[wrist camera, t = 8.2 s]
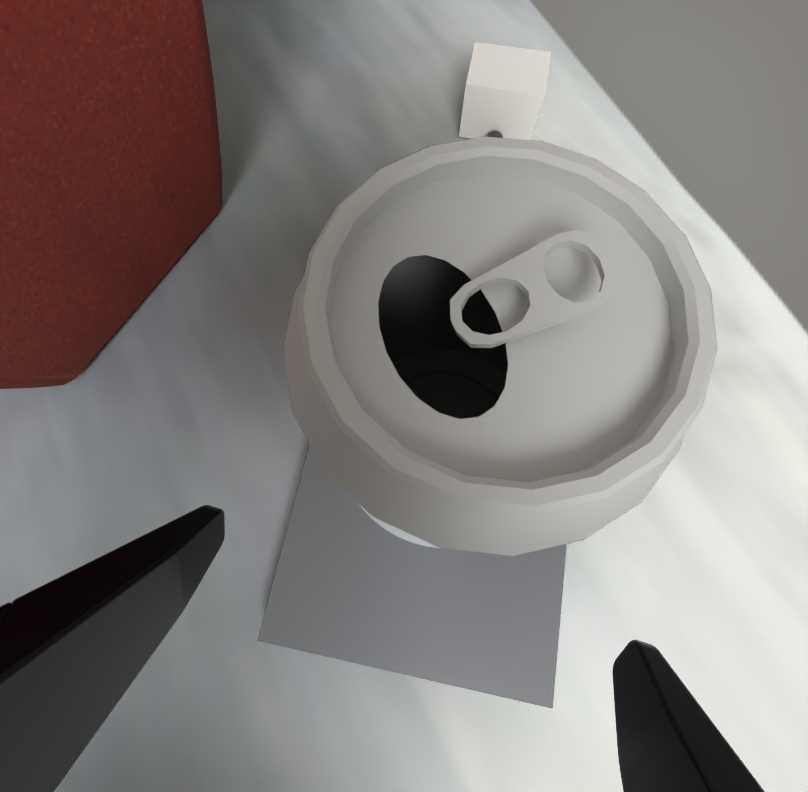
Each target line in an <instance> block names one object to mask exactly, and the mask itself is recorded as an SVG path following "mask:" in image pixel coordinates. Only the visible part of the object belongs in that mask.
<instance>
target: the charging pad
mask: <svg viewBox="0 0 808 792" xmlns="http://www.w3.org/2000/svg"><path fill="white" fill-rule="evenodd" d="M551 53H552V52H547V51H539V50H532V49H524V48H517V47H509V46H502V45H494V44H487V43H480V42H475V43H474V48H473V53H472V57H471V62H470V67H469V72H468V76H467V81H466V87H465V94H464V102H463V109H462V117H461V124H460V131H459V137H465V138H472V139H474V138H480V137H496V138H509V139H522V140H531V139H532V136H533V132H534V129H535V126H536V123H537V120H538V117H539V114H540V111H541V108H542V105H543V102H544V99H545V96H546V89H547V82H548V75H549V67H550V60H551ZM565 555H566V544H563V545H559V546H555V547H550V548H546V549H541V550H537V551H533V552H528V553H524V554H519V555H515V556H508V555H499V554H490V553H482V552H473V551H464V550H455V549H446V548H439V547H436V546H434V545H432V544H430V543H428V542H426V541H424V540H422V539H419V538H417V537H415V536H413V535H411V534H409V533H407V532H405V531H402V530H400V529H398V528H396V527H394V526H392V525H390V524H388V523H385V522H383V521H381V520H379V519H377V518H375V517H373V516H372V515H370V514H369V513H368V512H367V511H366V510H365V509H364V508H363V507H362V506H361V505H360V504H359V503H358V502H357V501H356V500H355V499H354V498H353V497H352V496H351V495H350V494H349V493H348V492H346V491H345V490H344V489H343V488H342V487H341V486H340V485H339V484H338V483H337V482H336V481H335V480H334V479H333V478H332V477H331V476H330V475H329V474H328V473H327V472H326V471H325V470H324V469H322V467H321V465H320V463H319V461H318V459H317V457H316V456H315V454H314V452H313V450H312V448H311V446H310V444H309V448H308V452H307V456H306V459H305V463H304V467H303V471H302V474H301V478H300V482H299V486H298V490H297V493H296V497H295V501H294V505H293V509H292V512H291V516H290V520H289V524H288V527H287V531H286V535H285V539H284V543H283V546H282V550H281V554H280V558H279V562H278V565H277V569H276V573H275V577H274V580H273V584H272V588H271V592H270V596H269V599H268V603H267V607H266V611H265V615H264V618H263V622H262V626H261V630H260V633H259V637H258V641H262V642H267V643H271V644H275V645H280V646H284V647H288V648H293V649H297V650H301V651H306V652H310V653H314V654H319V655H323V656H327V657H332V658H336V659H340V660H345V661H349V662H353V663H358V664H362V665H366V666H371V667H375V668H379V669H384V670H388V671H392V672H397V673H401V674H405V675H410V676H414V677H418V678H423V679H427V680H431V681H436V682H440V683H444V684H449V685H453V686H457V687H462V688H466V689H470V690H475V691H479V692H483V693H488V694H492V695H496V696H501V697H505V698H509V699H514V700H518V701H522V702H527V703H531V704H535V705H540V706H544V707H548V708H553V697H554V685H555V674H556V662H557V650H558V638H559V626H560V614H561V602H562V591H563V579H564V567H565Z"/></svg>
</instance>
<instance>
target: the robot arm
mask: <svg viewBox="0 0 808 792" xmlns="http://www.w3.org/2000/svg"><path fill="white" fill-rule="evenodd" d="M224 535H225V526H224V512H223V510H222V509H219V508H216V507H213V506H210V505H205V506H202V507H199V508H197V509H195V510H193V511H191V512H189V513H187V514H185V515H183V516H181V517H179V518H177V519H175V520H173V521H171V522H169V523H167V524H165V525H163V526H161V527H159V528H157V529H155V530H153V531H151V532H149V533H147V534H145V535H143V536H141V537H139V538H137V539H135V540H133V541H131V542H129V543H127V544H125V545H123V546H121V547H119V548H117V549H115V550H113V551H111V552H109V553H107V554H105V555H103V556H101V557H99V558H97V559H95V560H93V561H91V562H89V563H87V564H85V565H83V566H81V567H79V568H77V569H75V570H73V571H71V572H69V573H67V574H65V575H63V576H61V577H59V578H57V579H55V580H53V581H51V582H49V583H47V584H45V585H43V586H41V587H39V588H37V589H35V590H33V591H31V592H29V593H27V594H25V595H23V596H21V597H19V598H17V599H15V600H14V601H13V603H7V604H5V605H3V606H1V607H0V792H54V790H55V789H56V788H57V786H58V785H59V783H60V782H61V781H62V779H63V778H64V777H65V775H66V774H67V772H68V771H69V770H70V768H71V767H72V765H73V764H74V763H75V761H76V760H77V758H78V757H79V756H80V754H81V753H82V751H83V750H84V749H85V747H86V746H87V744H88V743H89V742H90V740H91V739H92V738H93V736H94V735H95V733H96V732H97V731H98V729H99V728H100V726H101V725H102V724H103V722H104V721H105V719H106V718H107V717H108V715H109V714H110V712H111V711H112V710H113V708H114V707H115V705H116V704H117V703H118V701H119V700H120V699H121V697H122V696H123V694H124V693H125V692H126V690H127V689H128V687H129V686H130V685H131V683H132V682H133V680H134V679H135V678H136V676H137V675H138V673H139V672H140V671H141V669H142V668H143V666H144V665H145V664H146V662H147V661H148V660H149V658H150V657H151V655H152V654H153V653H154V651H155V650H156V648H157V647H158V646H159V644H160V643H161V641H162V640H163V639H164V637H165V636H166V634H167V633H168V632H169V630H170V629H171V627H172V626H173V625H174V623H175V622H176V620H177V619H178V618H179V616H180V615H181V613H182V612H183V610H184V609H185V607H186V605H187V604H188V602H189V600H190V599H191V597H192V595H193V594H194V592H195V590H196V588H197V587H198V585H199V583H200V581H201V580H202V578H203V576H204V575H205V573H206V571H207V569H208V568H209V566H210V564H211V562H212V561H213V559H214V557H215V556H216V554H217V552H218V550H219V549H220V547H221V545H222V543H223V540H224ZM613 685H614V701H615V716H616V732H617V746H618V757H619V764H620V772H621V778H622V784H623V791H624V792H764V790H763V789H762V788H761V786H760V785H759V784H758V782H757V781H756V780H755V778H754V777H753V776H752V774H751V773H750V772H749V770H748V769H747V768H746V766H745V765H744V764H743V762H742V761H741V760H740V758H739V757H738V756H737V754H736V753H735V752H734V750H733V749H732V748H731V746H730V745H729V744H728V742H727V741H726V740H725V738H724V737H723V736H722V734H721V733H720V732H719V730H718V729H717V728H716V726H715V725H714V724H713V722H712V721H711V720H710V718H709V717H708V716H707V714H706V713H705V712H704V710H703V709H702V708H701V706H700V705H699V704H698V702H697V701H696V700H695V698H694V697H693V696H692V694H691V693H690V692H689V690H688V689H687V688H686V686H685V685H684V684H683V682H682V681H681V680H680V678H679V677H678V676H677V674H676V673H675V672H674V670H673V669H672V668H671V666H670V665H669V664H668V662H667V661H666V660H665V658H664V657H663V656H662V654H661V653H660V652H659V650H658V649H657V648H656V647H654V646H653V645H651V644H648V643H645V642H641V641H638V640H632V641H630V642H629V643H628V645H627V646H626V647H625V648H624V650H623V651H622V652H621V654H620V655H619V656H618V657H617V659H616V660H615V662H614V665H613Z"/></svg>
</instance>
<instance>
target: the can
mask: <svg viewBox="0 0 808 792" xmlns="http://www.w3.org/2000/svg"><path fill="white" fill-rule="evenodd" d="M283 350H284V357H285V365H286V372H287V379H288V386H289V393H290V400H291V408H292V411H293V413H294V415H295V417H296V419H297V421H298V423H299V424H300V426H301V428H302V430H303V432H304V434H305V436H306V438H307V440H308V442H309V444H310V446H311V448H312V450H313V452H314V454H315V456H316V457H317V459H318V461H319V463H320V465H321V467H322V469H324V470H325V471H326V472H327V473H328V474H329V475H330V476H331V477H332V478H333V479H334V480H335V481H336V482H337V483H338V484H339V485H340V486H341V487H342V488H343V489H344V490H345V491H346V492H348V493H349V494H350V495H351V496H352V497H353V498H354V499H355V500H356V501H357V502H358V503H359V504H360V505H361V506H362V507H363V508H364V509H365V510H366V511H367V512H368V513H369V514H370V515H372V516H373V517H375V518H377V519H379V520H381V521H383V522H385V523H388V524H390V525H392V526H394V527H396V528H398V529H400V530H402V531H405V532H407V533H409V534H411V535H413V536H415V537H417V538H419V539H422V540H424V541H426V542H428V543H430V544H432V545H434V546H436V547H439V548H446V549H455V550H464V551H473V552H482V553H490V554H499V555H508V556H515V555H519V554H524V553H528V552H533V551H537V550H541V549H546V548H550V547H555V546H559V545H563V544H568V543H572V542H577V541H581V540H584V539H586V538H587V537H589V536H590V535H592V534H593V533H595V532H596V531H598V530H599V529H601V528H603V527H604V526H606V525H607V524H609V523H610V522H612V521H613V520H615V519H616V518H618V517H619V516H621V515H623V514H624V513H626V512H627V511H629V510H630V509H632V508H633V507H635V506H636V505H638V504H639V503H641V502H642V501H643V499H644V498H645V497H646V495H647V494H648V492H649V491H650V490H651V488H652V487H653V486H654V484H655V483H656V481H657V480H658V479H659V477H660V476H661V475H662V473H663V472H664V470H665V469H666V468H667V466H668V465H669V463H670V462H671V461H672V459H673V458H674V457H675V455H676V454H677V452H678V451H679V450H680V447H681V443H682V439H683V435H684V433H685V431H686V430H687V429H688V427H689V426H690V424H691V423H692V422H693V420H694V419H695V418H696V416H697V415H698V414H699V412H700V411H701V409H702V407H703V403H704V399H705V395H706V392H707V388H708V384H709V380H710V376H711V372H712V368H713V364H714V360H715V356H716V353H717V340H716V331H715V322H714V313H713V304H712V295H711V289H710V286H709V284H708V282H707V280H706V278H705V276H704V274H703V272H702V269H701V267H700V265H699V263H698V261H697V259H696V257H695V255H694V252H693V250H692V248H691V246H690V244H689V242H688V240H687V238H686V235H685V234H684V233H683V232H682V231H681V230H680V229H679V228H678V227H677V225H676V224H675V223H674V222H673V221H672V220H671V219H670V218H669V217H668V216H667V214H666V213H665V212H664V211H663V210H662V209H661V208H660V207H659V206H658V204H657V203H656V202H655V201H654V200H653V199H652V198H651V197H650V196H649V194H648V193H647V192H646V191H645V190H643V189H642V188H640V187H639V186H637V185H636V184H634V183H633V182H631V181H629V180H628V179H626V178H625V177H623V176H622V175H620V174H618V173H617V172H615V171H614V170H612V169H611V168H609V167H608V166H606V165H604V164H603V163H601V162H600V161H598V160H597V159H594V158H591V157H588V156H585V155H582V154H579V153H576V152H573V151H570V150H567V149H564V148H561V147H558V146H555V145H552V144H549V143H546V142H543V141H536V140H522V139H509V138H496V137H480V138H474V139H468V140H462V141H457V142H451V143H445V144H439V145H434V146H428V147H426V148H424V149H421V150H419V151H417V152H415V153H413V154H411V155H409V156H406V157H404V158H402V159H400V160H398V161H396V162H394V163H391V164H389V165H387V166H385V167H383V168H381V169H379V170H377V171H376V172H375V173H374V174H372V175H371V176H370V177H369V178H368V179H367V180H366V181H365V182H363V183H362V184H361V185H360V186H359V187H358V188H357V189H356V190H354V191H353V192H352V193H351V194H350V195H349V196H348V197H346V198H345V199H344V200H343V201H342V202H341V203H340V204H339V205H337V206H336V208H335V210H334V212H333V213H332V215H331V217H330V218H329V220H328V222H327V223H326V225H325V227H324V229H323V230H322V232H321V234H320V235H319V237H318V239H317V240H316V242H315V244H314V245H313V247H312V249H311V251H310V252H309V255H308V260H307V265H306V270H305V275H304V277H303V279H302V280H301V282H300V284H299V286H298V287H297V289H296V291H295V293H294V298H293V303H292V308H291V313H290V318H289V323H288V328H287V333H286V338H285V343H284V348H283Z"/></svg>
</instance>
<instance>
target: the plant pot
mask: <svg viewBox="0 0 808 792" xmlns="http://www.w3.org/2000/svg"><path fill="white" fill-rule="evenodd" d="M221 204H222V170H221V157H220V145H219V134H218V122H217V111H216V100H215V90H214V82H213V74H212V67H211V59H210V52H209V45H208V38H207V31H206V25H205V18H204V11H203V4H202V0H0V389H9V388H35V387H48V386H57V385H64V384H66V383H68V382H70V381H71V380H73V379H75V378H76V377H77V376H78V375H79V374H80V373H81V372H82V370H83V369H84V368H85V367H86V366H87V365H88V363H89V362H90V361H91V360H92V359H93V357H94V356H95V355H96V354H97V353H98V352H99V351H100V349H101V348H102V347H103V346H104V345H105V344H106V342H107V341H108V340H109V339H110V338H111V337H112V336H113V334H114V333H115V332H116V331H117V330H118V329H119V327H120V326H121V325H122V324H123V323H124V322H125V320H126V319H127V318H128V317H129V316H130V315H131V313H132V312H133V311H134V310H135V309H136V308H137V306H138V305H139V304H140V303H141V302H142V301H143V299H144V298H145V297H146V296H147V295H148V294H149V293H150V291H151V290H152V289H153V288H154V287H155V286H156V285H157V283H158V282H159V281H160V280H161V279H162V277H163V276H164V275H165V274H166V273H167V272H168V271H169V269H170V268H171V267H172V266H173V265H174V264H175V262H176V261H177V260H178V259H179V257H180V256H181V255H182V254H183V253H184V252H185V250H186V249H187V248H188V247H189V246H190V245H191V243H192V242H193V241H194V240H195V239H196V238H197V236H198V235H199V234H200V233H201V232H202V230H203V229H204V228H205V227H206V226H207V225H208V224H209V223H210V221H211V220H212V219H213V218H214V217H215V215H216V214H217V213H218V211H219V210H220V208H221Z"/></svg>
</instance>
